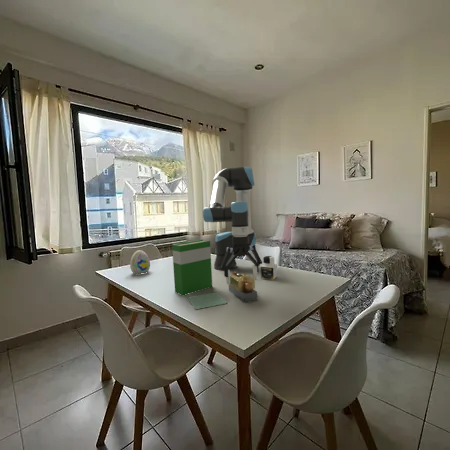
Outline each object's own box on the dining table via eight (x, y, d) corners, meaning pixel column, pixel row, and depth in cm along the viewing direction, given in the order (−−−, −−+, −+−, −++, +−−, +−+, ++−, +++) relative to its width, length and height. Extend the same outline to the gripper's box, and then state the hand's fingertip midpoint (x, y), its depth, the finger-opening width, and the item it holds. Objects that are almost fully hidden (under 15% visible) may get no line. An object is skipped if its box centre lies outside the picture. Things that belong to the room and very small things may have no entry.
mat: (187, 298, 117) (187, 297, 116) (216, 293, 122) (216, 292, 122) (195, 310, 104) (195, 309, 104) (227, 303, 109) (227, 302, 109)
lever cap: (229, 284, 121) (229, 274, 120) (244, 282, 124) (244, 271, 123) (238, 291, 111) (238, 279, 111) (254, 288, 114) (254, 276, 114)
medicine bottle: (261, 278, 141) (260, 257, 140) (265, 275, 148) (264, 254, 146) (273, 280, 138) (273, 258, 137) (277, 276, 144) (276, 255, 143)
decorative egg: (135, 277, 156) (133, 252, 154) (127, 273, 165) (126, 250, 163) (153, 272, 163) (152, 249, 162) (146, 269, 173) (144, 247, 171)
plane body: (228, 290, 125) (228, 271, 124) (239, 288, 127) (239, 270, 126) (245, 303, 108) (244, 282, 108) (257, 300, 111) (256, 279, 110)
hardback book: (204, 283, 137) (201, 239, 135) (212, 286, 132) (210, 240, 130) (175, 291, 126) (172, 244, 124) (182, 295, 120) (179, 245, 118)
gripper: (217, 239, 107) (219, 288, 109) (268, 234, 116) (270, 279, 118) (211, 237, 114) (213, 283, 115) (260, 232, 123) (261, 275, 125)
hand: (242, 281), depth 117 cm, fingers open, 13 cm apart
